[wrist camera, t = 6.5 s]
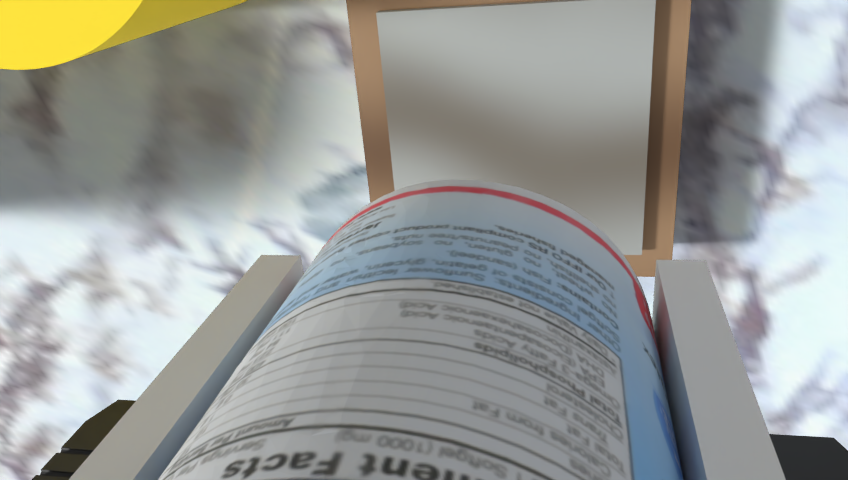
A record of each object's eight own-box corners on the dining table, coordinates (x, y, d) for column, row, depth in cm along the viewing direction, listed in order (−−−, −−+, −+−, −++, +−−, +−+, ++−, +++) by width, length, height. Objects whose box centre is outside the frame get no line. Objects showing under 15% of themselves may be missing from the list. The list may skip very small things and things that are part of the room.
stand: (364, -30, 24) (339, -21, 21) (682, -53, 22) (697, -46, 19) (394, 242, 28) (376, 277, 25) (661, 244, 26) (672, 282, 23)
